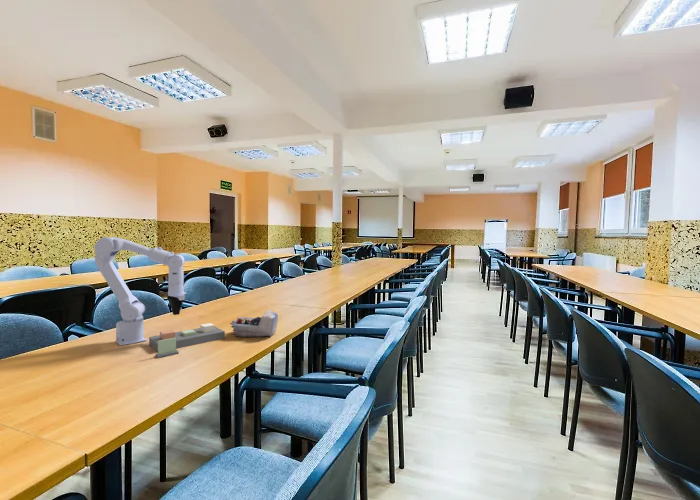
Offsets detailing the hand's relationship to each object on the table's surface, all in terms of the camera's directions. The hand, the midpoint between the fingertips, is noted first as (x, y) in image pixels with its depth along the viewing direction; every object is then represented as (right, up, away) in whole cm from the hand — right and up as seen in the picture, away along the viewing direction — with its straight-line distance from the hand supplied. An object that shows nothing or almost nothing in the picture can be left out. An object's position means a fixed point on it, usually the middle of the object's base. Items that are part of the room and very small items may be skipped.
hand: (176, 314), depth 145 cm
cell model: (+31, -11, +9) cm, 34 cm away
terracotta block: (+1, -9, -8) cm, 13 cm away
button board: (+6, -11, -3) cm, 13 cm away
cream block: (+12, -9, +3) cm, 15 cm away
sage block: (+6, -11, -3) cm, 13 cm away
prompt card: (+6, -12, -18) cm, 23 cm away
